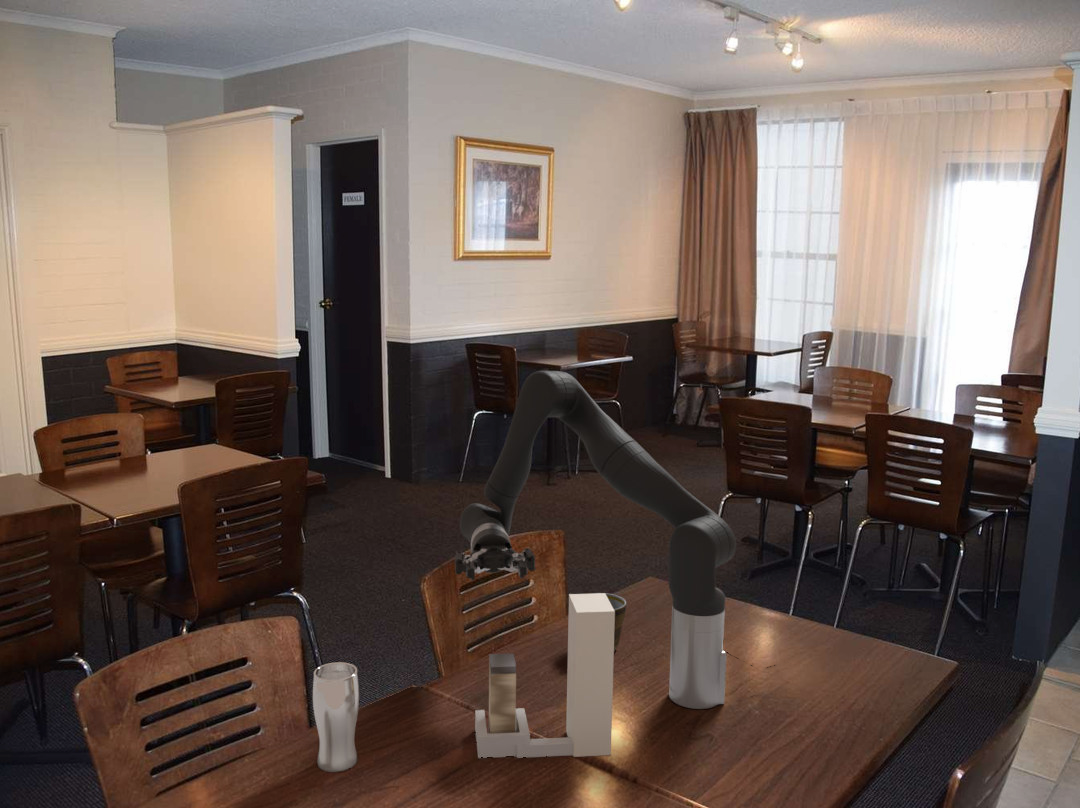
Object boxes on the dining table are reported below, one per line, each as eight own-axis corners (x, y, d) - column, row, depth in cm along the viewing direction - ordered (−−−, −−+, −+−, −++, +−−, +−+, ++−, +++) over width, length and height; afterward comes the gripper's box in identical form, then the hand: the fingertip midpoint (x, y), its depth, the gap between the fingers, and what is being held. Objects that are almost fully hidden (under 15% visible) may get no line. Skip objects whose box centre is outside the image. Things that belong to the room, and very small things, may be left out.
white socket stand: (599, 724, 158) (602, 589, 154) (610, 754, 148) (614, 611, 144) (475, 730, 155) (475, 592, 152) (478, 761, 145) (479, 615, 142)
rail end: (512, 732, 155) (513, 653, 152) (515, 748, 150) (516, 666, 147) (488, 733, 154) (489, 654, 152) (490, 749, 149) (490, 667, 147)
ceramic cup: (593, 634, 196) (594, 589, 194) (634, 646, 190) (635, 599, 189) (558, 655, 186) (559, 607, 184) (600, 668, 180) (601, 619, 178)
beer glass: (349, 776, 141) (347, 683, 138) (306, 771, 142) (304, 678, 140) (366, 753, 147) (365, 663, 145) (325, 748, 149) (324, 659, 147)
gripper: (453, 529, 175) (455, 554, 159) (528, 526, 176) (538, 551, 160) (453, 567, 176) (456, 596, 160) (528, 564, 177) (538, 592, 161)
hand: (497, 573), depth 160 cm, fingers open, 8 cm apart
